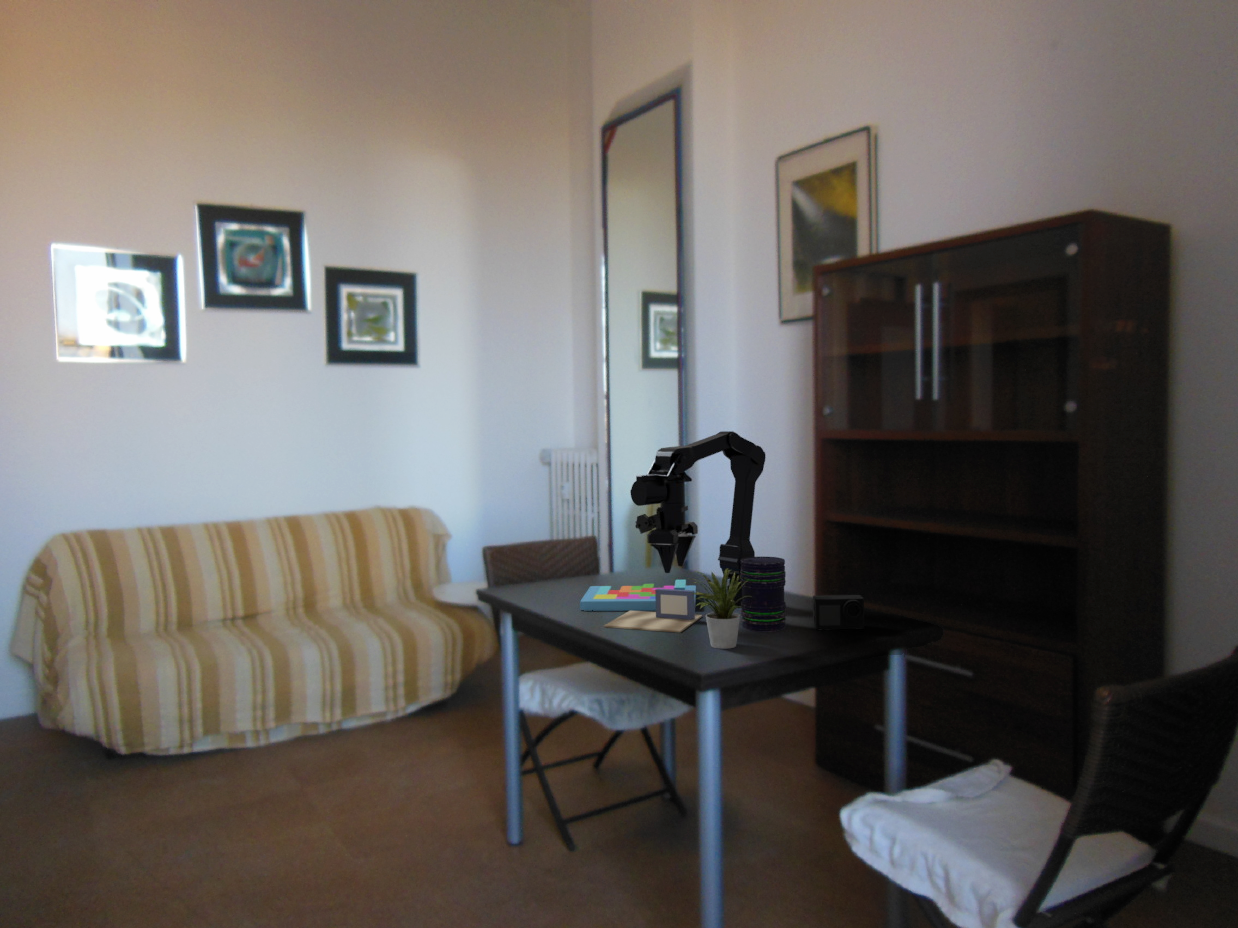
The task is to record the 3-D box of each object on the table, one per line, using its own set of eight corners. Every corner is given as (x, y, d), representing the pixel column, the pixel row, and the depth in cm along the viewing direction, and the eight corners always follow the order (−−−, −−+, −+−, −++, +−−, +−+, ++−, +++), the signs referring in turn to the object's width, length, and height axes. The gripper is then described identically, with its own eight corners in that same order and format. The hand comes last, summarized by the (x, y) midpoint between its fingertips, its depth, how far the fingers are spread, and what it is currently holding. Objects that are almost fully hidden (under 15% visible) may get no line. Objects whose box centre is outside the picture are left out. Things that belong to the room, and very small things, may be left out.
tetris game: (695, 612, 217) (696, 589, 244) (694, 600, 216) (696, 579, 244) (580, 612, 219) (594, 590, 247) (580, 601, 219) (594, 580, 247)
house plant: (690, 634, 193) (688, 559, 192) (755, 635, 190) (753, 559, 190) (684, 652, 179) (682, 571, 178) (754, 653, 176) (753, 571, 176)
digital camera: (817, 632, 193) (816, 600, 192) (812, 626, 198) (812, 594, 198) (865, 631, 192) (865, 599, 192) (860, 625, 198) (859, 594, 197)
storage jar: (786, 622, 202) (785, 556, 201) (786, 632, 193) (785, 563, 192) (742, 621, 204) (741, 556, 203) (740, 631, 194) (738, 563, 194)
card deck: (694, 618, 206) (694, 590, 206) (692, 619, 205) (692, 591, 204) (658, 615, 210) (657, 588, 209) (655, 617, 208) (655, 589, 208)
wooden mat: (701, 616, 210) (701, 614, 210) (680, 632, 195) (680, 630, 195) (630, 611, 216) (630, 610, 216) (604, 627, 202) (604, 625, 202)
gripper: (653, 498, 218) (655, 561, 218) (625, 505, 200) (626, 574, 201) (697, 498, 213) (699, 563, 214) (672, 506, 196) (673, 577, 197)
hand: (674, 569), depth 207 cm, fingers open, 9 cm apart
